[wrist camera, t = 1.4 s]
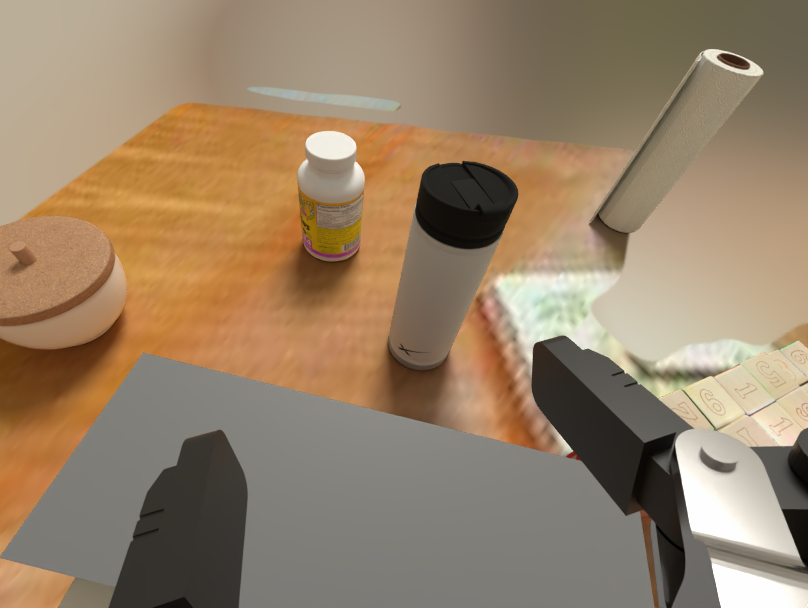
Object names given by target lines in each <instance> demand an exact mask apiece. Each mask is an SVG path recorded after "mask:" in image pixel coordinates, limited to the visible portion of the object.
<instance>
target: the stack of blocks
mask: <svg viewBox="0 0 808 608" xmlns="http://www.w3.org/2000/svg"><path fill="white" fill-rule="evenodd" d="M658 399H659V400H660V401H661V402H663V403H664V404H665V405H666V406H668V407H669V408H670V409H671V410H672V411H674V412H675V413H676V414H677V415H678V416H680V417H681V418H682V419H683V420H685V421H686V422H687V423H688V424H689V425H691V426H692V427H693V428H695V429H710V430H715V431H719V432H722V433H725V434H727V435H730V436H732V437H734V438H736V439H738V440H740V441H741V442H743V443H744V444H746V445H747V446H748V447H761V446H793V445H794V443H795V441H796V439H797V437H798V435H799V434H800V432H801V431H802V430H804V429H806V428H808V349H807V348H806V347H805V346H804V345H803V344H802V343H801V342H800V341H795V342H793V343H791V344H789V345H787V346H785V347H783V348H781V349H779V350H775V351H773V352H771V353H769V354H766V353H765V352H763V353H760V354H758V355H756V356H754V357H752V358H750V359H748V360H746V361H744V362H742V363H740V364H738V365H736V366H734V367H733V368H731V369H729V370H727V371H725V372H723V373H721V374H718V375H716V376H715V377H711V376H710V377H707V378H705V379H703V380H700V381H698V382H696V383H694V384H692V385H689V386H687V387H685V388H683V389H681V390H676V391H674V392H672V393H669V394H667V395H665V396H662V397H660V398H658ZM567 458H571V459H575V460H579V461H581V460H580V459H579V457H578V456H577V455H576V454H575V452H574V451H573V452H571V453H570V454H568V455H567ZM640 515H641V519H642V518H647V517H650V516H649V515H648V514H647V513H646V512H645V511H644V510H641V511H640Z"/></svg>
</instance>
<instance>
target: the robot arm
mask: <svg viewBox="0 0 808 608" xmlns="http://www.w3.org/2000/svg"><path fill="white" fill-rule="evenodd" d="M532 393H533V396H534V399H535V402H536V404H537V406H538V407H539V409H540V410H541V411H542V413H543V414H544V415H545V416H546V418H547V419H548V420H549V421H550V423H551V424H552V425H553V426H554V427H555V429H556V430H557V431H558V432H559V434H560V435H561V436H562V437H563V439H564V440H565V441H566V442H567V444H568V445H569V446H570V447H571V449H572V450H573V451H574V452H575V454H576V455H577V456H578V457H579V459H580V460H581V461H582V462H583V463H584V465H585V466H586V467H587V468H588V470H589V471H590V472H591V473H592V475H593V476H594V477H595V478H596V480H597V481H598V482H599V483H600V485H601V486H602V487H603V488H604V490H605V491H606V492H607V493H608V495H609V496H610V497H611V498H612V499H613V501H614V502H615V503H616V504H617V506H618V507H619V508H620V509H621V511H622V512H623V513H624V514H625V516H628V515H630V514H633V513H636V512H638V511H641V510H644V511H645V512H646V513H647V514H648V515H649V516H650V518H651V519H652V520H651V524H650V530H651V540H652V549H653V558H654V567H655V576H656V585H657V594H658V603H659V608H808V428H806V429H804V430H802V431H801V432H800V434H799V435H798V437H797V439H796V441H795V443H794V445H793V446H761V447H748V446H747V445H746V444H744V443H743V442H741V441H740V440H738V439H736V438H734V437H732V436H730V435H727V434H725V433H722V432H719V431H715V430H710V429H695V428H693V427H692V426H691V425H689V424H688V423H687V422H686V421H685V420H683V419H682V418H681V417H680V416H678V415H677V414H676V413H675V412H674V411H672V410H671V409H670V408H669V407H668V406H666V405H665V404H664V403H663V402H661V401H660V400H659V399H658V398H657V397H655V396H654V395H653V394H652V393H651V392H649V391H648V390H647V389H646V388H644V387H643V386H642V385H641V384H640V385H638V383H637V381H636V380H635V379H634V378H632V377H631V376H630V375H629V374H625V373H624V370H623V369H621V368H620V367H619V366H618V365H617V364H615V363H614V362H613V361H612V360H610V359H609V358H608V357H606V356H603V355H601V354H599V353H597V352H594V351H592V350H590V349H585V350H582V349H581V348H579V347H578V346H577V345H576V344H575V343H574V342H573V341H571V340H570V339H569V338H568V337H566V336H558V337H555V338H551V339H547V340H544V341H540V342H537V343H535V345H534V348H533V365H532ZM247 502H248V489H247V482H246V478H245V474H244V471H243V469H242V467H241V465H240V463H239V461H238V459H237V457H236V455H235V453H234V451H233V449H232V447H231V445H230V443H229V441H228V439H227V437H226V435H225V433H224V432H223V431H222V430H216V431H212V432H209V433H205V434H201V435H198V436H194V437H191V438H187V439H185V440H184V442H183V444H182V447H181V451H180V454H179V458H178V462H177V465H176V466H173V467H170V468H166V469H164V470H163V471H162V472H161V474H160V475H159V476H158V478H157V479H156V481H155V482H154V483H153V485H152V486H151V487H150V489H149V490H148V492H147V494H146V497H145V500H144V503H143V506H142V509H141V512H140V515H139V517H140V520H139V521H137V524H136V527H135V530H134V533H133V541H131V542H130V545H129V548H128V551H127V554H126V557H125V560H124V563H123V566H122V569H121V572H120V575H119V578H118V581H117V584H116V587H115V590H114V593H113V596H112V599H111V602H110V605H109V608H239V598H240V586H241V574H242V562H243V550H244V538H245V526H246V514H247Z"/></svg>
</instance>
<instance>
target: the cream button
mask: <svg viewBox="0 0 808 608" xmlns="http://www.w3.org/2000/svg"><path fill="white" fill-rule="evenodd" d="M114 590H115V587H112V586H108V585H105V584H101V583H97V582H93V581H89V580H85V579H81V578H77V577H75V579H74V581H73V583H72V584H71V586H70V588H69V589H68V591H67V593H66V595H65V596H64V598H63V600H62V601H61V603H60V605H59V606H58V608H109V605H110V602H111V599H112V596H113V593H114Z"/></svg>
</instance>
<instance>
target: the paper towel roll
mask: <svg viewBox="0 0 808 608" xmlns="http://www.w3.org/2000/svg"><path fill="white" fill-rule="evenodd" d="M762 75H763V70H762V69H761V68H760V67H759V66H758V65H756V64H755V63H753V62H752V61H750V60H748V59H746V58H743V57H741V56H739V55H736V54H733V53H730V52H726V51H721V50H714V49H709V50H706V51H703V52H701V53H700V54H699V56H698V57H697V59H696V61H695V62H694V64H693V65H692V66H691V68H690V69H689V71H688V73H687V74H686V76H685V77H684V78H683V80H682V82H681V83H680V85H679V86H678V88H677V89H676V91H675V92H674V94H673V95H672V97H671V98H670V100H669V101H668V103H667V104H666V106H665V107H664V109H663V111H662V112H661V113H660V115H659V116H658V118H657V119H656V121H655V122H654V124H653V125H652V127H651V128H650V130H649V132H648V133H647V134H646V136H645V137H644V139H643V141H642V142H641V144H640V145H639V147H638V148H637V150H636V151H635V153H634V154H633V156H632V157H631V159H630V160H629V162H628V163H627V165H626V166H625V168H624V169H623V171H622V172H621V174H620V175H619V177H618V178H617V180H616V181H615V183H614V184H613V186H612V187H611V189H610V190H609V192H608V193H607V195H606V196H605V198H604V200H603V201H602V203H601V204H600V206H599V207H598V209H597V210H596V212H595V214H594V215H593V217H592V218H591V220H590V221H589V222H591V221H593V219H594V218H595V216H596V215H597V213H599V217H600V218H601V220H602V221H603V222H604V223H605V224H606V225H608V226H609V227H610V228H612V229H614V230H617V231H619V232H624V233H631V232H634V231H636V230H637V229H639V228H640V227H641V225H642V224H643V223H644V222H645V220H646V219H647V218H648V217H649V215H650V214H651V213H652V212H653V210H654V209H655V208H656V207H657V206H658V204H659V203H660V202H661V201H662V199H663V198H664V197H665V196H666V194H667V193H668V192H669V191H670V189H671V188H672V187H673V186H674V184H675V183H676V182H677V181H678V179H679V178H680V177H681V176H682V174H683V173H684V172H685V171H686V170H687V168H688V167H689V166H690V165H691V163H692V162H693V161H694V160H695V158H696V157H697V156H698V155H699V153H700V152H701V151H702V150H703V148H704V147H705V146H706V145H707V144H708V142H709V141H710V140H711V139H712V137H713V136H714V135H715V134H716V132H717V131H718V130H719V129H720V127H721V126H722V125H723V124H724V122H725V121H726V120H727V118H728V117H729V116H730V115H731V113H733V111H734V110H735V109H736V108H737V106H738V105H739V104H740V103H741V101H742V100H743V99H744V98H745V96H746V95H747V94H748V92H749V91H750V90H751V89H752V88H753V86H754V85H755V84H756V83H757V81H758V80H759V79H760V78H761V76H762Z"/></svg>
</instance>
